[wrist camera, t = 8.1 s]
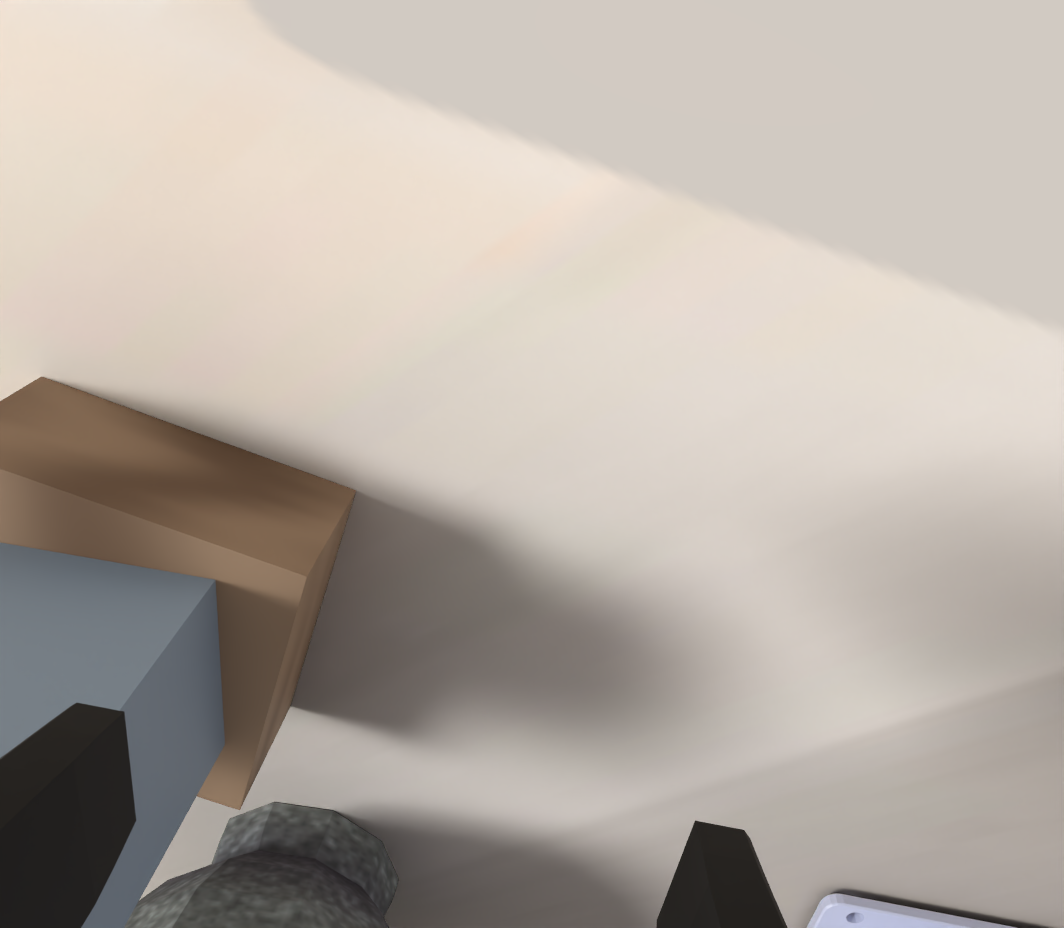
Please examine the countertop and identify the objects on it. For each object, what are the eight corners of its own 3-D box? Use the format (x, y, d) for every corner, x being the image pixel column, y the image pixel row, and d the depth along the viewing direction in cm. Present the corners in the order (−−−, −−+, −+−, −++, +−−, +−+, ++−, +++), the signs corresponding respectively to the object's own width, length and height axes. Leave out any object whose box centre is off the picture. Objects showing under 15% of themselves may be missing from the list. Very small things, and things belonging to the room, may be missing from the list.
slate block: (215, 579, 18) (41, 816, 12) (225, 744, 20) (82, 1001, 15) (-13, 540, 18) (-281, 759, 12) (24, 709, 20) (-189, 952, 15)
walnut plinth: (360, 483, 21) (306, 576, 17) (294, 698, 25) (239, 810, 21) (49, 371, 20) (-71, 443, 17) (31, 609, 24) (-71, 709, 20)
